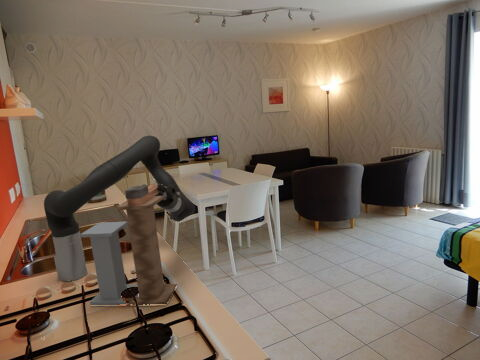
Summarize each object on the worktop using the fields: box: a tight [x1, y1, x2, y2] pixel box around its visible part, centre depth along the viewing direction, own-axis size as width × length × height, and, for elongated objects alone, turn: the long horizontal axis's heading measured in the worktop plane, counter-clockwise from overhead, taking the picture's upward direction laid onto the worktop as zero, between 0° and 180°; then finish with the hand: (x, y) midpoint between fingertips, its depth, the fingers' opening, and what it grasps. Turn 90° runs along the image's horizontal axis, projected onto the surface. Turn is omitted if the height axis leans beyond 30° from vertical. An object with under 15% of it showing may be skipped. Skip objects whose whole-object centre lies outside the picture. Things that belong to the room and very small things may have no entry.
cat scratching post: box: [116, 196, 178, 305], centre depth 109 cm, size 12×11×32 cm
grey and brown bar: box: [124, 183, 163, 206], centre depth 110 cm, size 4×19×4 cm, turn 173°
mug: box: [87, 190, 107, 204], centre depth 253 cm, size 20×14×15 cm
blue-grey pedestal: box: [80, 220, 138, 306], centre depth 112 cm, size 12×11×24 cm
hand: (151, 187), depth 114 cm, fingers open, 4 cm apart
